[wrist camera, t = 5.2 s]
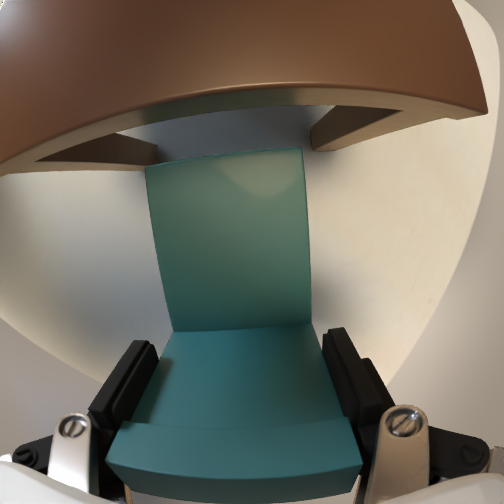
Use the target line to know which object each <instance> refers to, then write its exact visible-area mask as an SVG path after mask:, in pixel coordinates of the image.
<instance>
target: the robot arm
mask: <svg viewBox="0 0 504 504" xmlns="http://www.w3.org/2000/svg"><path fill="white" fill-rule="evenodd" d="M322 353H323V355H324V358H325V361H326V364H327V367H328V370H329V373H330V376H331V379H332V382H333V384H334V387H335V390H336V393H337V396H338V399H339V402H340V405H341V408H342V412H343V415H344V417H348V418H349V421H350V424H351V427H352V430H353V433H354V436H355V439H356V442H357V445H358V448H359V451H360V454H361V457H362V461H363V465H362V468H361V470H360V472H359V474H358V475H360V477H359V481H358V486H357V490H356V494H355V498H354V502H353V504H504V448H503V447H497V446H495V447H494V448H493V449H489V447H488V445H487V444H486V442H484V441H483V440H482V439H479V438H476V437H472V436H467V435H463V434H459V433H454V432H450V431H446V430H443V429H439V428H435V427H432V426H428V420H427V416H426V415H425V413H424V412H423V411H422V410H420V409H419V408H417V407H415V406H412V405H397V406H396V405H395V403H394V401H393V399H392V398H391V396H390V394H389V392H388V390H387V388H386V387H385V385H384V383H383V381H382V379H381V377H380V376H379V374H378V372H377V370H376V369H375V367H374V365H373V363H372V361H371V360H370V359H369V358H363V359H361V358H360V356H359V354H358V352H357V350H356V349H355V347H354V345H353V343H352V341H351V339H350V337H349V336H348V334H347V332H346V330H345V328H344V327H340V328H333V329H329V330H328V333H326V334H323V342H322ZM158 362H159V359H158V356H157V352H156V349H155V347H154V345H153V344H150V342H149V341H148V340H134V341H133V342H132V343H131V345H130V346H129V348H128V349H127V350H126V352H125V353H124V355H123V356H122V358H121V359H120V361H119V362H118V364H117V365H116V367H115V368H114V370H113V371H112V373H111V374H110V376H109V377H108V379H107V380H106V382H105V383H104V385H103V386H102V388H101V389H100V391H99V392H98V394H97V395H96V397H95V399H94V400H93V402H92V403H91V405H90V406H89V408H88V410H89V412H88V414H87V415H85V414H84V413H80V412H72V413H68V414H66V415H64V416H63V417H61V418H60V419H59V421H58V422H57V423H56V426H55V430H54V434H53V435H51V436H48V437H45V438H42V439H39V440H36V441H33V442H30V443H27V444H23V445H21V446H19V447H18V448H17V449H16V450H15V452H14V453H13V455H12V454H11V453H10V454H7V455H3V456H0V504H133V500H132V494H131V489H130V488H129V487H128V486H127V485H126V484H125V483H124V482H123V481H122V480H121V479H120V478H119V477H118V476H117V475H116V474H115V473H114V471H113V470H112V469H111V468H110V467H109V466H108V465H107V463H106V462H105V458H106V456H107V454H108V452H109V450H110V447H111V445H112V443H113V441H114V439H115V437H116V435H117V433H118V430H119V428H120V426H121V424H122V422H123V421H130V420H131V418H132V416H133V414H134V412H135V409H136V407H137V405H138V403H139V401H140V399H141V397H142V395H143V392H144V390H145V388H146V386H147V384H148V382H149V380H150V378H151V376H152V374H153V372H154V370H155V368H156V366H157V364H158Z"/></svg>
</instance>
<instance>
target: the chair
mask: <svg viewBox="0 0 504 504" xmlns="http://www.w3.org/2000/svg"><path fill="white" fill-rule="evenodd" d="M145 178H146V186H147V195H148V202H149V210H150V217H151V223H152V230H153V236H154V242H155V248H156V253H157V259H158V264H159V269H160V274H161V279H162V284H163V289H164V293H165V298H166V302H167V306H168V311H169V315H170V319H171V323H172V327H173V331H174V332H173V334H172V336H171V337H170V339H169V341H168V343H167V345H166V347H165V349H164V351H163V353H162V355H161V357H160V359H159V362H158V364H157V366H156V368H155V370H154V372H153V374H152V376H151V378H150V380H149V382H148V384H147V386H146V388H145V390H144V392H143V395H142V397H141V399H140V401H139V403H138V405H137V407H136V409H135V412H134V414H133V416H132V418H131V420H130V421H123V422H122V424H121V426H120V428H119V430H118V433H117V435H116V437H115V439H114V441H113V443H112V445H111V447H110V450H109V452H108V454H107V456H106V458H105V462H106V463H107V465H108V466H109V467H110V468H111V469H112V470H113V471H114V473H115V474H116V475H117V476H118V477H119V478H120V479H121V480H122V481H123V482H124V483H125V484H126V485H127V486H128V487H129V488H130V489H131V490H132V491H135V492H139V493H144V494H148V495H153V496H158V497H164V498H170V499H176V500H184V501H193V502H203V503H216V504H272V503H285V502H295V501H304V500H310V499H317V498H324V497H329V496H335V495H339V494H344V493H349V492H351V490H352V488H353V485H354V483H355V481H356V479H357V477H358V474H359V472H360V470H361V468H362V465H363V461H362V457H361V454H360V451H359V448H358V445H357V442H356V439H355V436H354V433H353V430H352V427H351V424H350V421H349V418H348V417H344V415H343V412H342V408H341V405H340V402H339V399H338V396H337V393H336V390H335V387H334V384H333V382H332V379H331V376H330V373H329V370H328V367H327V364H326V361H325V358H324V355H323V353H322V350H321V347H320V344H319V341H318V338H317V336H316V333H315V330H314V327H313V325H312V306H311V266H310V243H309V224H308V209H307V195H306V182H305V171H304V160H303V150H302V148H301V147H293V148H277V149H264V150H253V151H243V152H234V153H225V154H218V155H210V156H203V157H196V158H190V159H183V160H177V161H172V162H166V163H161V164H155V165H150V166H146V167H145Z"/></svg>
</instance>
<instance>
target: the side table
mask: <svg viewBox="0 0 504 504" xmlns="http://www.w3.org/2000/svg"><path fill="white" fill-rule="evenodd" d="M288 105H336V106H335V107H334V108H332V109H331V110H330V111H329V112H328V113H327V114H326V115H325V116H324V117H322V118H321V119H320V120H319V121H318V122H317V123H316V124H315V125H314V126H313V127H311V129H310V131H311V140H312V150H313V151H335V150H338V149H341V148H344V147H347V146H350V145H353V144H356V143H359V142H362V141H365V140H368V139H371V138H374V137H378V136H381V135H384V134H387V133H391V132H394V131H397V130H401V129H404V128H408V127H411V126H415V125H419V124H422V123H426V122H430V121H434V120H437V119H441V118H445V117H446V118H451V119H456V120H459V119H464V118H469V117H474V116H480V115H485V114H487V113H488V107H487V102H486V98H485V93H484V89H483V85H482V81H481V77H480V73H479V70H478V66H477V63H476V60H475V57H474V54H473V51H472V48H471V45H470V42H469V39H468V37H467V34H466V31H465V29H464V27H463V24H462V22H461V19H460V17H459V15H458V13H457V10H456V8H455V6H454V4H453V2H452V0H4V2H3V4H2V6H1V9H0V178H1V177H3V176H5V175H7V174H14V173H28V172H46V171H79V170H114V171H143V170H145V167H146V166H150V165H155V164H159V157H158V146H157V145H155V144H152V143H148V142H145V141H142V140H138V139H135V138H132V137H128V136H125V135H121V134H118V133H116V132H119V131H123V130H127V129H131V128H134V127H138V126H142V125H147V124H151V123H155V122H160V121H165V120H170V119H175V118H180V117H186V116H191V115H197V114H204V113H210V112H218V111H226V110H234V109H244V108H255V107H268V106H288Z"/></svg>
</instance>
